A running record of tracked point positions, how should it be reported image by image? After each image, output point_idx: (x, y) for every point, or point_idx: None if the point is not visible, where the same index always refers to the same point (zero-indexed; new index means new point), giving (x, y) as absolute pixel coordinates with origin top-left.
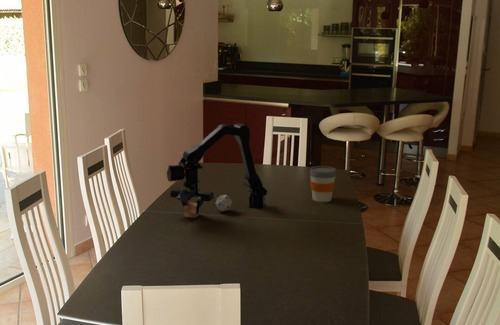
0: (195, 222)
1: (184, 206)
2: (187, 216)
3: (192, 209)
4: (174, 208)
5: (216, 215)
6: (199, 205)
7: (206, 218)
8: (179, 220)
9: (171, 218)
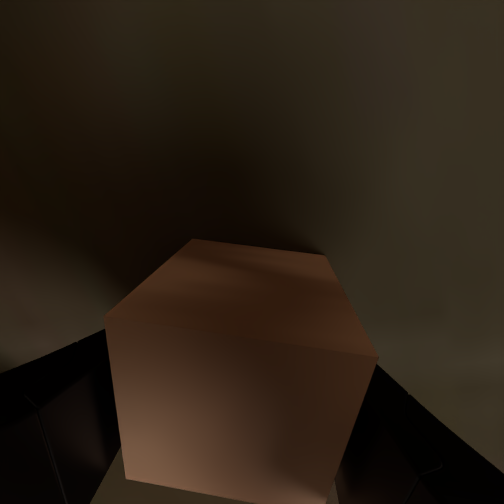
0: (120, 75)
1: (370, 342)
2: (288, 253)
3: (189, 291)
4: (482, 449)
5: (43, 341)
6: (10, 372)
7: (77, 250)
8: (361, 95)
9: (498, 151)
